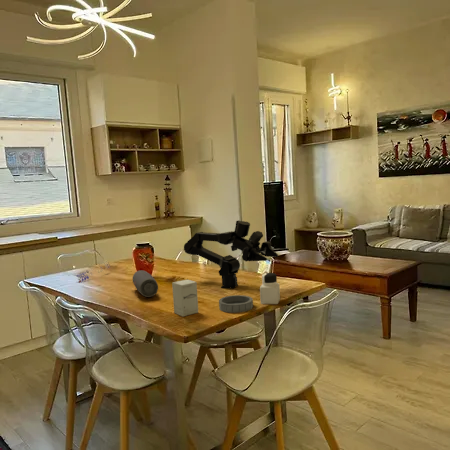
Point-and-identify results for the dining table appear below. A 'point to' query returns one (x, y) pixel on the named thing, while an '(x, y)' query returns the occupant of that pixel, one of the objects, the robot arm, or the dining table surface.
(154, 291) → the bluetooth speaker
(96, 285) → the dining table surface
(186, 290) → the supplement box
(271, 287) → the medicine bottle
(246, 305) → the round dish
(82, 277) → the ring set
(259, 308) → the dining table surface
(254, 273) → the dining table surface
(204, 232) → the robot arm
